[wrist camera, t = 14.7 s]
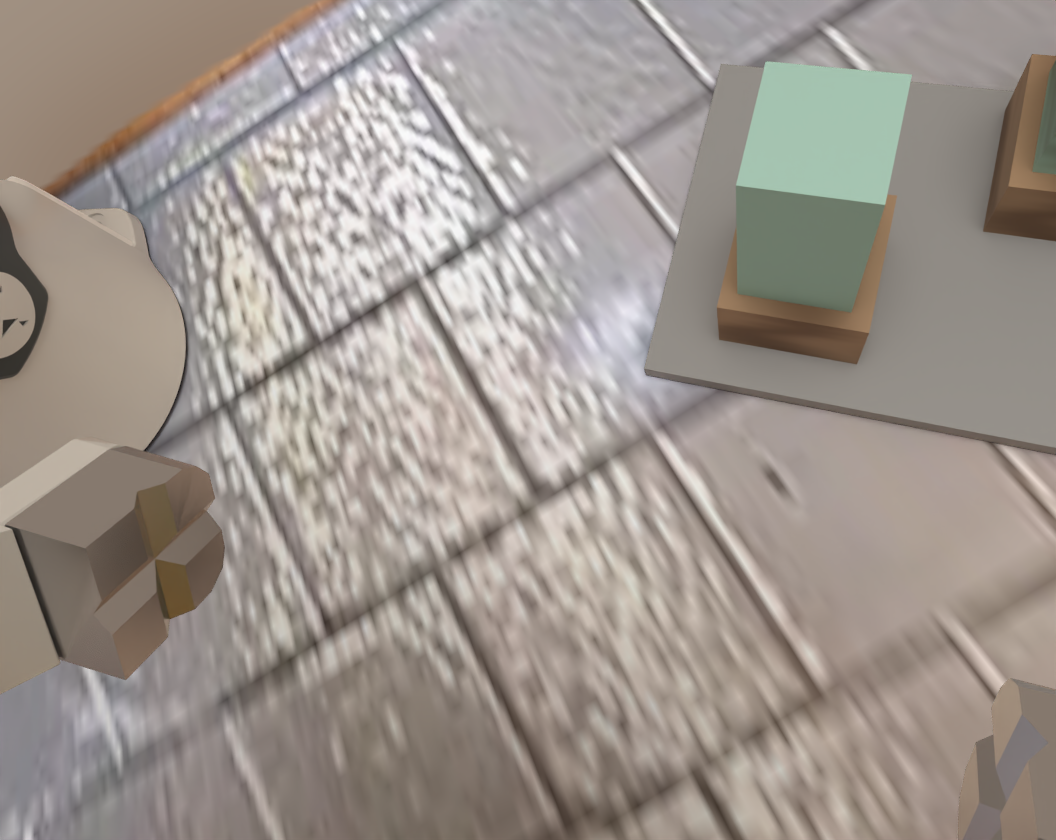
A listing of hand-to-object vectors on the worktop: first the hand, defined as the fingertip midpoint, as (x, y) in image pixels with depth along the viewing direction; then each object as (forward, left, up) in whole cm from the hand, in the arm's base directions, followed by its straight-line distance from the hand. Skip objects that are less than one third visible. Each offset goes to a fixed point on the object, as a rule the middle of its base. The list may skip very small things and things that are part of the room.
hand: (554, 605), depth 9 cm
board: (+5, +19, -31) cm, 37 cm away
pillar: (+1, +16, -26) cm, 31 cm away
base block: (+1, +16, -30) cm, 34 cm away
